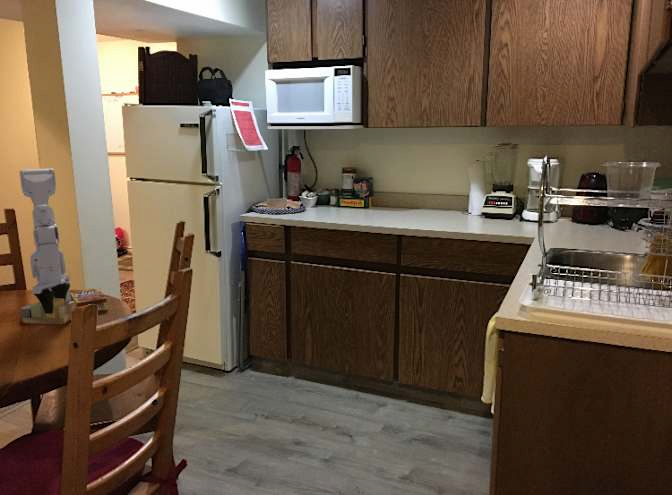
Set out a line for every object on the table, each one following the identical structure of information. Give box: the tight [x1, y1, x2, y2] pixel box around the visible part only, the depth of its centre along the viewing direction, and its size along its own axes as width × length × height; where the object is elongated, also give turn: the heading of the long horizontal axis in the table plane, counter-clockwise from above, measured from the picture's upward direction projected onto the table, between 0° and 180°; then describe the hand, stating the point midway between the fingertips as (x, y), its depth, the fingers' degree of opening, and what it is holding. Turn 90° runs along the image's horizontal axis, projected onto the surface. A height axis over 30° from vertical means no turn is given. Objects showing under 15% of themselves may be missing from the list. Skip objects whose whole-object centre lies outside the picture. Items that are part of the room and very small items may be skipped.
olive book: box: [30, 301, 46, 318], centre depth 174 cm, size 5×3×5 cm, turn 171°
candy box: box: [70, 287, 109, 312], centre depth 186 cm, size 9×4×15 cm
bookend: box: [19, 303, 35, 322], centre depth 174 cm, size 5×3×4 cm, turn 171°
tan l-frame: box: [22, 300, 75, 325], centre depth 173 cm, size 7×13×5 cm, turn 81°
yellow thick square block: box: [46, 298, 66, 318], centre depth 173 cm, size 5×3×5 cm, turn 171°
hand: (54, 310), depth 173 cm, fingers closed on yellow thick square block, 5 cm apart
